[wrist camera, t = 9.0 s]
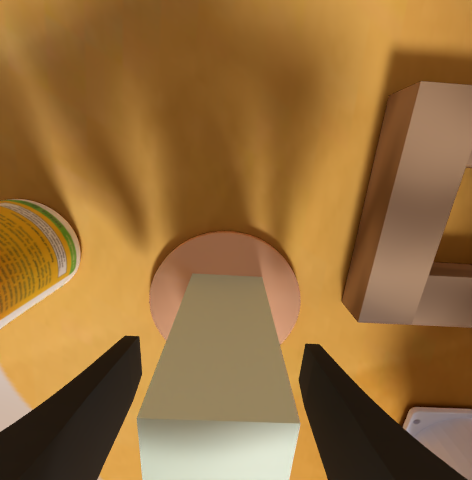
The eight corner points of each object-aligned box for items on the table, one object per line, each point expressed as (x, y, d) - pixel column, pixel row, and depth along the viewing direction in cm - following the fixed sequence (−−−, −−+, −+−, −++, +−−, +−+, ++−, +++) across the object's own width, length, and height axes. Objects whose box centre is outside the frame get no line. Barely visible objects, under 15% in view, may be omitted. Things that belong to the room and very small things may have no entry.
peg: (256, 334, 15) (280, 519, 7) (192, 331, 14) (145, 516, 7) (262, 277, 13) (300, 423, 6) (192, 273, 13) (136, 417, 6)
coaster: (287, 360, 16) (289, 368, 15) (155, 355, 16) (152, 362, 15) (308, 235, 13) (311, 238, 13) (149, 226, 13) (145, 229, 12)
